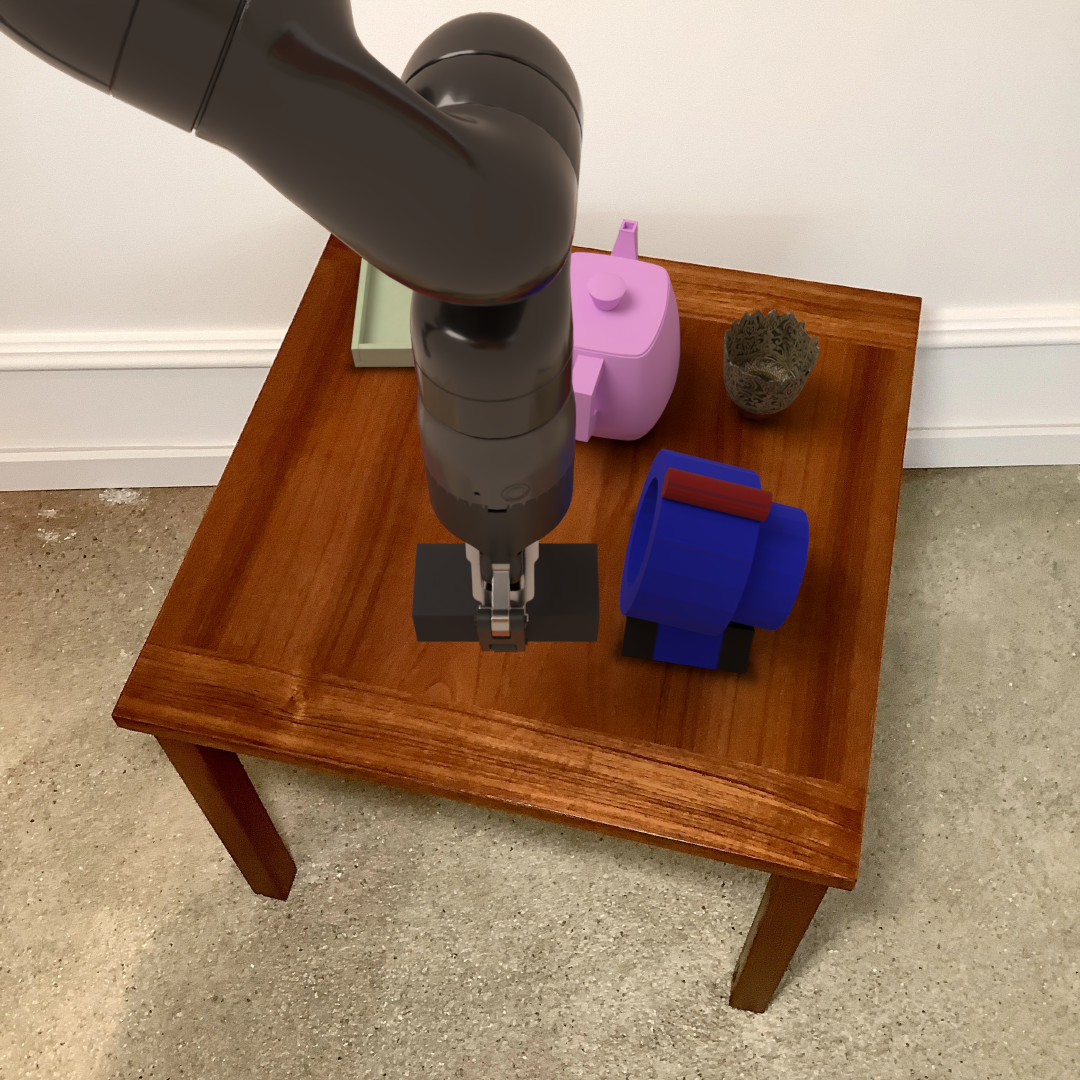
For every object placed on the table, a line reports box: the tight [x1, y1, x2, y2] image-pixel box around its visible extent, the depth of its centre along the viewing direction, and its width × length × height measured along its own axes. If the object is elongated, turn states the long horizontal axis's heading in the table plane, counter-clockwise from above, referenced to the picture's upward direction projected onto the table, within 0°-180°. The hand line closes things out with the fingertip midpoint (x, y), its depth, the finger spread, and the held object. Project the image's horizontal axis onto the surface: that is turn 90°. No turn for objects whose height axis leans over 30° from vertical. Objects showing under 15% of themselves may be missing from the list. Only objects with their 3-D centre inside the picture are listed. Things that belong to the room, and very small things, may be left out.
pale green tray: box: [350, 257, 415, 368], centre depth 98 cm, size 10×15×2 cm, turn 0°
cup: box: [722, 308, 821, 421], centre depth 89 cm, size 8×7×8 cm
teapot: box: [570, 218, 681, 443], centre depth 88 cm, size 20×12×13 cm, turn 166°
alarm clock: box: [619, 448, 810, 675], centre depth 76 cm, size 12×12×15 cm
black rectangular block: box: [411, 542, 601, 643], centre depth 66 cm, size 11×5×4 cm, turn 90°
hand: (507, 603), depth 68 cm, fingers closed on black rectangular block, 5 cm apart
